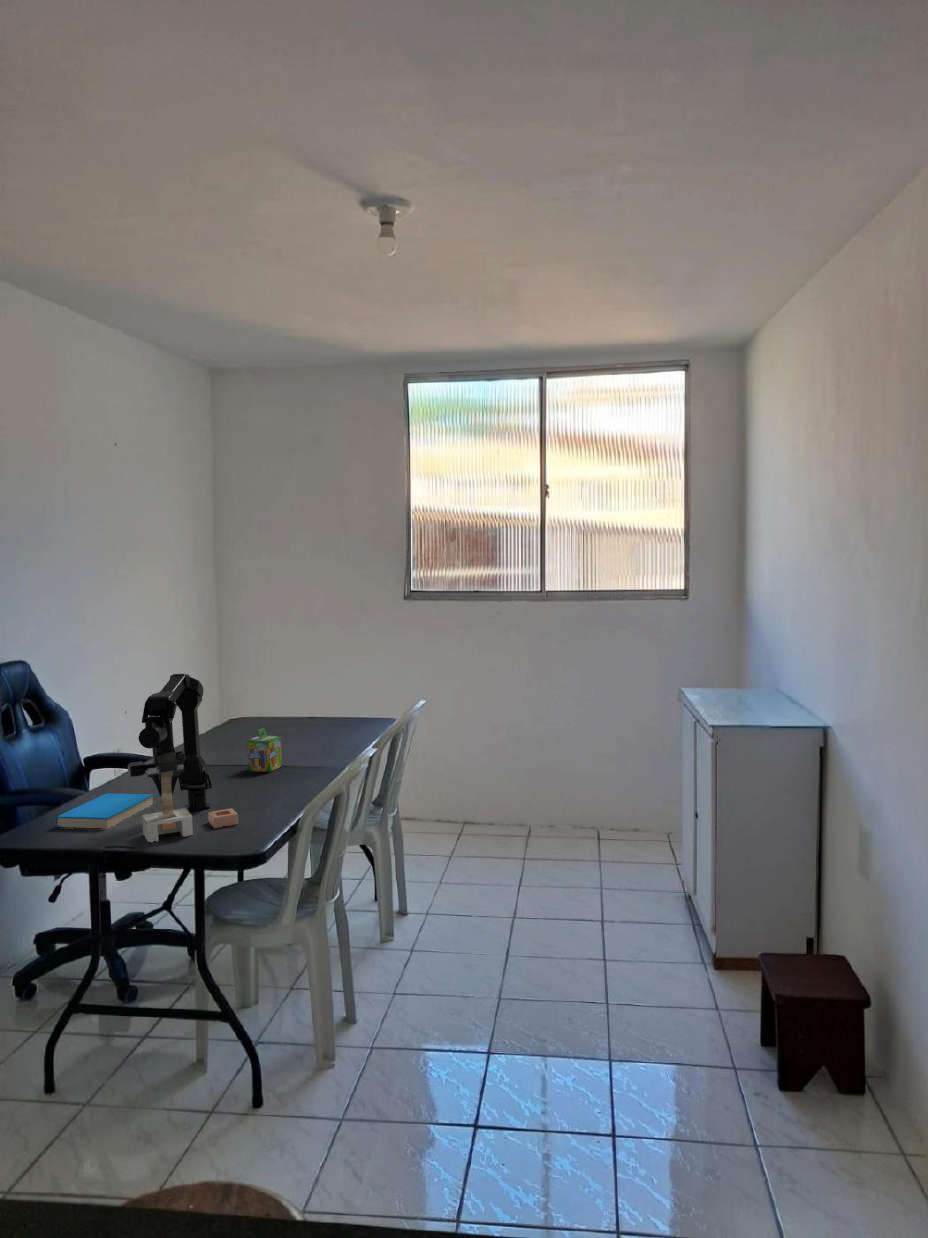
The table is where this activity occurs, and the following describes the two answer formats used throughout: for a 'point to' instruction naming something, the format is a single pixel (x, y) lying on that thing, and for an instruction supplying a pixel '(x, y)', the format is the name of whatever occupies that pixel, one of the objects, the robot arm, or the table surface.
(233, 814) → the holder
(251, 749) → the printed toy box
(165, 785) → the tan square peg
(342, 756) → the table surface
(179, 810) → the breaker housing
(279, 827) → the table surface
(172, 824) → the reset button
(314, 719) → the table surface
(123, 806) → the book
